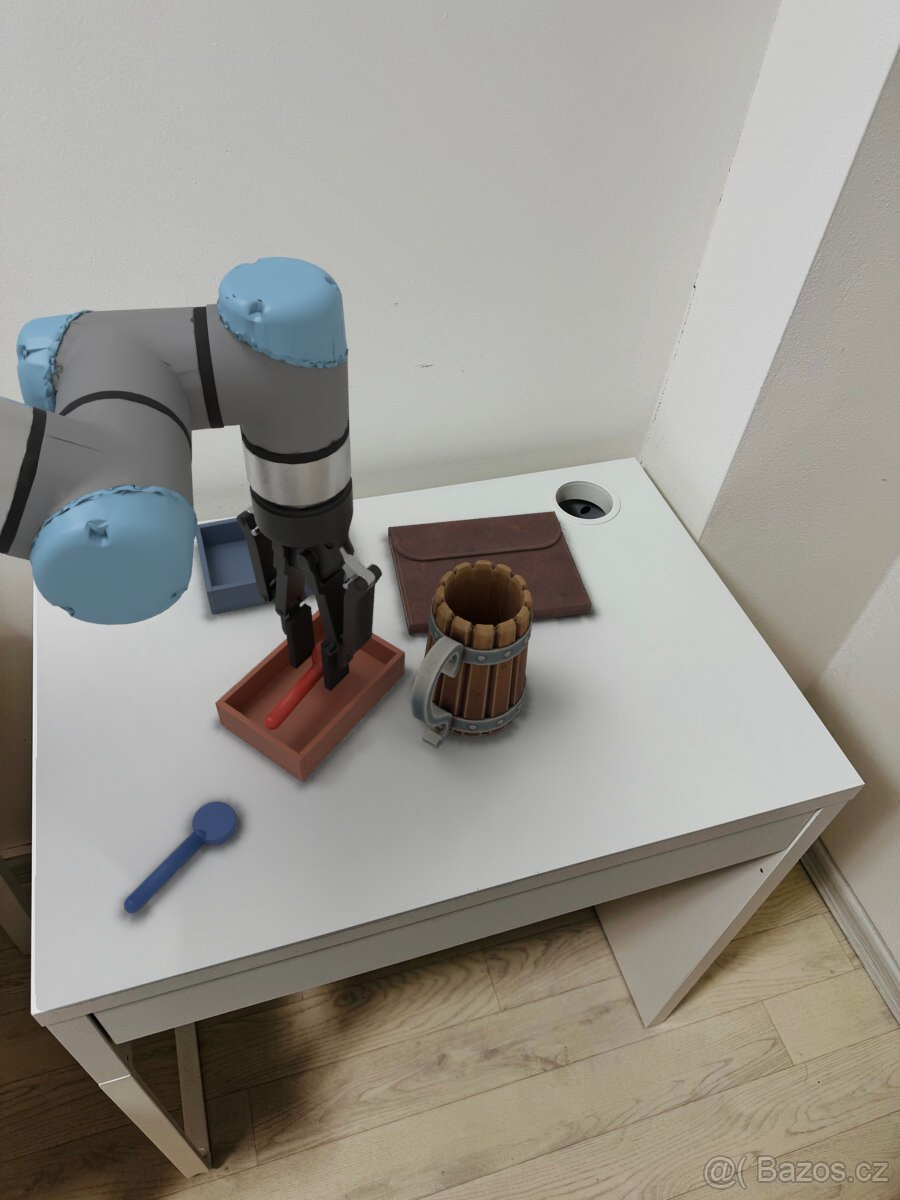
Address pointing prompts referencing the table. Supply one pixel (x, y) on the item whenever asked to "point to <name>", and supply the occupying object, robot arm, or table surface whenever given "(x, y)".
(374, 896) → the table surface
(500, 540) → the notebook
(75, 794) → the table surface
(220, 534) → the blue bin
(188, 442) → the robot arm
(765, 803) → the table surface
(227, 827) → the blue spoon
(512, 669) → the mug
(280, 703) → the red spoon
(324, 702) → the red bin
